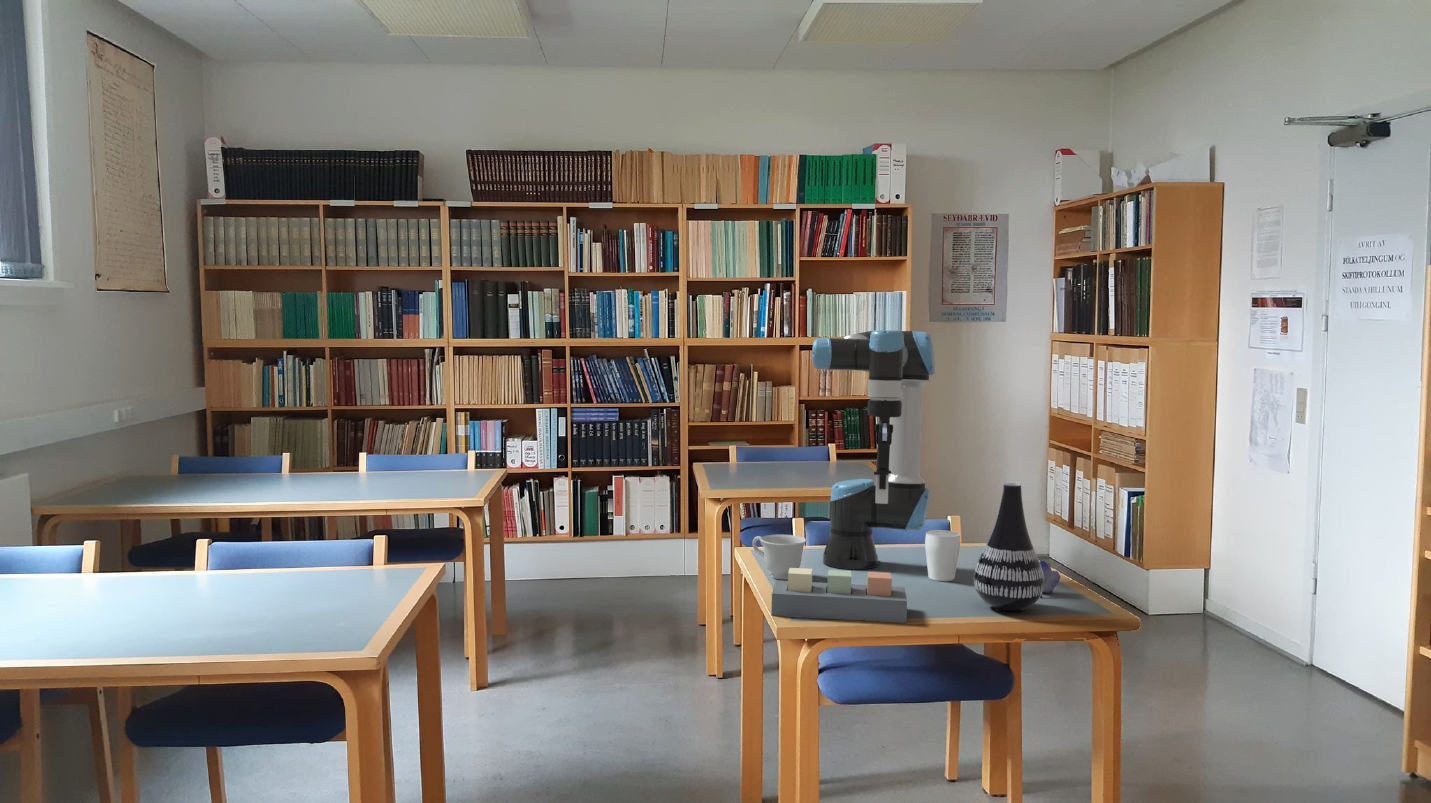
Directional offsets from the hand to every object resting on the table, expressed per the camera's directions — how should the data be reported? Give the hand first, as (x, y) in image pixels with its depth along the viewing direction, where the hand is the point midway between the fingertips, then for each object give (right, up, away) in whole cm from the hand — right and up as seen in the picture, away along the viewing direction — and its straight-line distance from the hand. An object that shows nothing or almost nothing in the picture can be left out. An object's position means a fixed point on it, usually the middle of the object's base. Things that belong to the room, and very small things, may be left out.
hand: (881, 502), depth 222 cm
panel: (-9, -25, +3) cm, 27 cm away
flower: (+44, -25, +23) cm, 56 cm away
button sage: (-9, -23, +3) cm, 25 cm away
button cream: (-18, -23, +5) cm, 29 cm away
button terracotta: (0, -23, +2) cm, 23 cm away
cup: (+22, -24, +36) cm, 48 cm away
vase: (+31, -26, +9) cm, 41 cm away
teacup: (-21, -23, +35) cm, 47 cm away
